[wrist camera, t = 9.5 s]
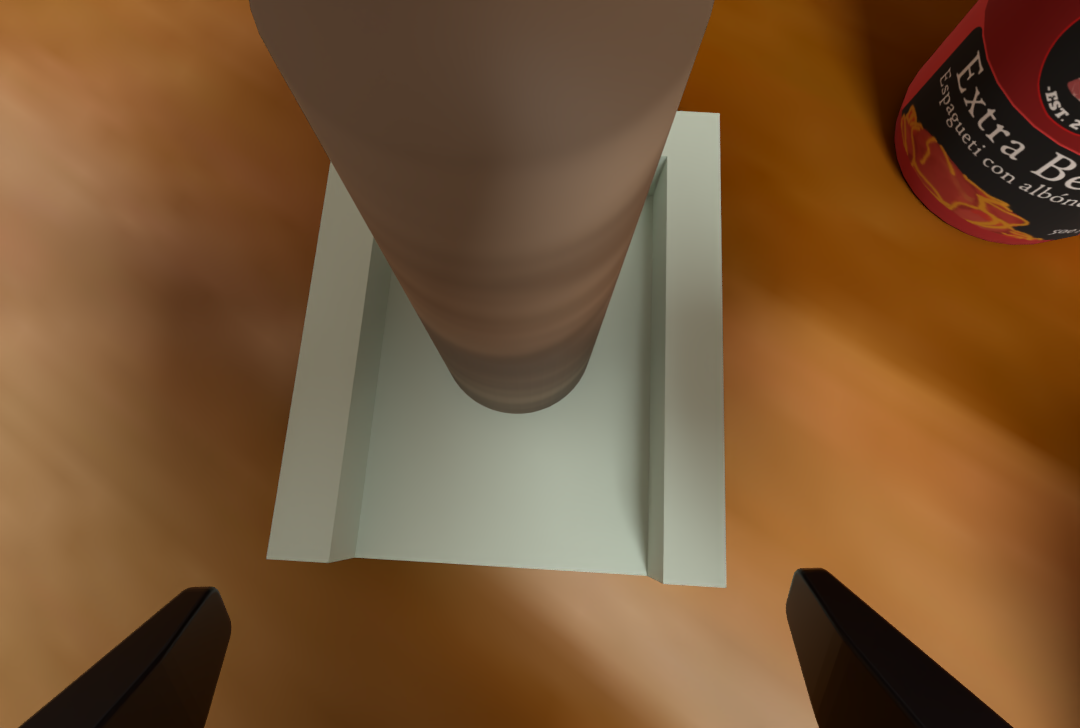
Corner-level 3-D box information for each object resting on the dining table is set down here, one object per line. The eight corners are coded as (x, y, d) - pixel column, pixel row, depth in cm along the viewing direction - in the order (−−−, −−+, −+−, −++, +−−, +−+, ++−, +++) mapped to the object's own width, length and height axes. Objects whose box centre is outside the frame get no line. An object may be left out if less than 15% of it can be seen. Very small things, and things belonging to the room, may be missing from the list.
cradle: (694, 576, 18) (726, 588, 15) (310, 552, 18) (265, 559, 15) (693, 170, 21) (719, 113, 18) (369, 152, 21) (341, 92, 18)
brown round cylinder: (550, 439, 18) (596, 240, 5) (417, 372, 18) (149, 35, 5) (615, 310, 19) (787, -128, 6) (486, 249, 19) (397, -277, 6)
